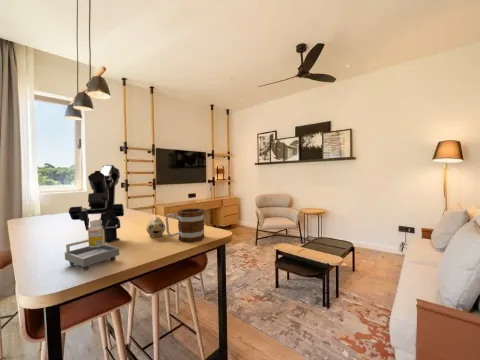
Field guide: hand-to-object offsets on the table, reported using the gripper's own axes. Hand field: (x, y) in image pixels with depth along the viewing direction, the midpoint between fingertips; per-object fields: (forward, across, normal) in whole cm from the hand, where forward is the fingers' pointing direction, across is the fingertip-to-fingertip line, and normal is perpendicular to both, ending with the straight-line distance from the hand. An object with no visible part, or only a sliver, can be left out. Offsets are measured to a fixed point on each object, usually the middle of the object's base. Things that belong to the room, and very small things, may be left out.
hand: (95, 229), depth 88 cm
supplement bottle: (+4, 0, +6) cm, 7 cm away
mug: (-3, +37, +22) cm, 43 cm away
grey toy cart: (+9, -2, +10) cm, 13 cm away
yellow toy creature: (-11, +23, +31) cm, 40 cm away
